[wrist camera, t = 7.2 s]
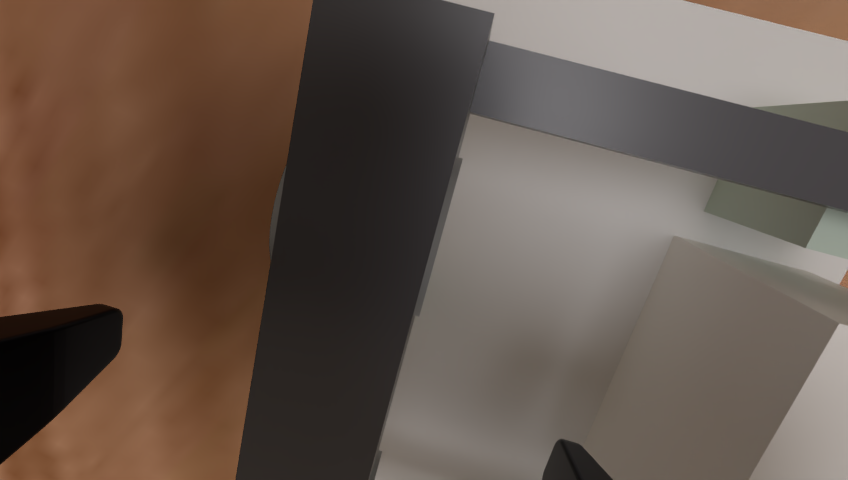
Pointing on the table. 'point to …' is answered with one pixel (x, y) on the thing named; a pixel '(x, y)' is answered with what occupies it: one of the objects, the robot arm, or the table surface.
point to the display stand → (633, 277)
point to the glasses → (441, 200)
